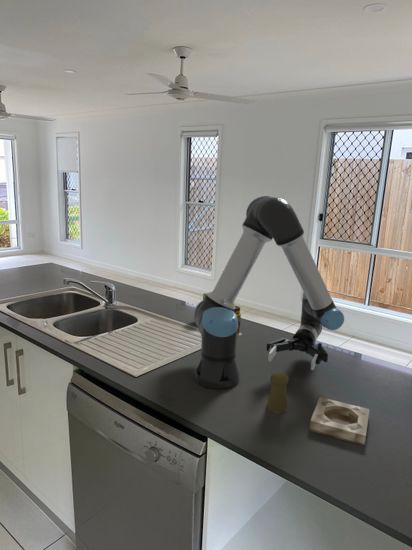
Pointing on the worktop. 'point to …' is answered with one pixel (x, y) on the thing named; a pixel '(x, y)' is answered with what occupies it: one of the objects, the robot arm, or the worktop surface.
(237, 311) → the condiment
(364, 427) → the holder block
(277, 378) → the olive green peg
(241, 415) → the worktop surface
